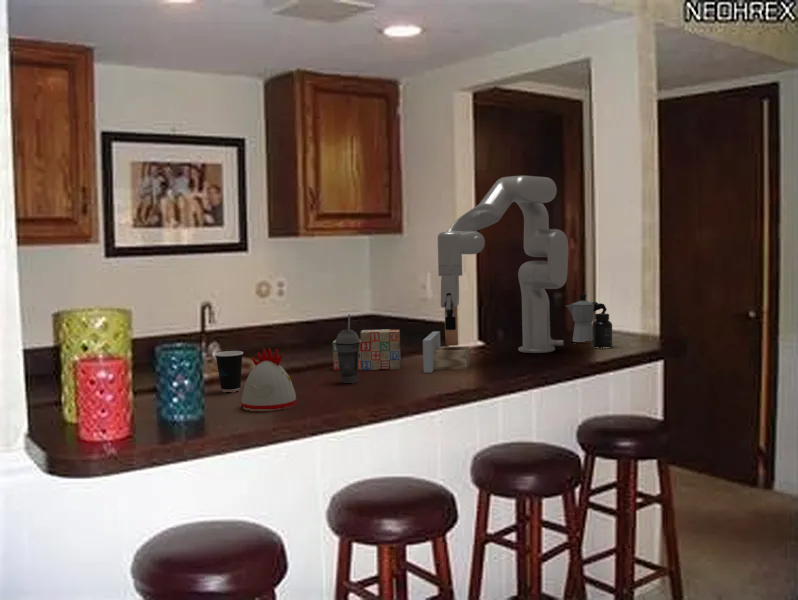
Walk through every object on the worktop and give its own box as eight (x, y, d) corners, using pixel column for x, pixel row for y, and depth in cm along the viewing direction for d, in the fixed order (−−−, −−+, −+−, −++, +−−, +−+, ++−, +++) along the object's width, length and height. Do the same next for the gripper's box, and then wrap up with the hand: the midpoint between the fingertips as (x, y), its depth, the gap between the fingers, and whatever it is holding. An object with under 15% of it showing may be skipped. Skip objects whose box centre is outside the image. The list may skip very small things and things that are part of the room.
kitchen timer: (287, 412, 206) (284, 352, 204) (234, 412, 208) (231, 352, 206) (302, 400, 219) (300, 344, 218) (252, 400, 221) (249, 344, 220)
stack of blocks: (333, 371, 265) (331, 332, 264) (335, 367, 271) (334, 330, 270) (400, 369, 264) (398, 331, 263) (401, 366, 270) (400, 328, 269)
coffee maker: (566, 344, 307) (565, 295, 305) (565, 341, 315) (564, 293, 314) (608, 343, 304) (607, 294, 303) (606, 340, 313) (605, 292, 311)
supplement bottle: (612, 346, 298) (611, 312, 297) (612, 349, 291) (612, 314, 290) (592, 346, 299) (592, 313, 298) (592, 349, 293) (592, 315, 292)
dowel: (458, 344, 266) (457, 300, 265) (457, 345, 262) (456, 301, 261) (446, 344, 266) (445, 300, 265) (444, 345, 262) (443, 301, 261)
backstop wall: (440, 361, 277) (440, 331, 276) (431, 372, 255) (430, 340, 254) (433, 361, 277) (432, 331, 276) (423, 372, 256) (422, 340, 255)
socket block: (469, 364, 269) (468, 346, 268) (466, 370, 259) (465, 351, 259) (438, 364, 271) (438, 346, 270) (434, 370, 261) (433, 351, 260)
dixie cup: (247, 388, 239) (245, 350, 238) (242, 393, 231) (240, 354, 231) (219, 389, 239) (217, 351, 238) (213, 394, 231) (211, 355, 231)
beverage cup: (350, 379, 249) (347, 312, 247) (366, 381, 243) (364, 313, 242) (331, 382, 243) (328, 314, 242) (348, 385, 238) (345, 316, 237)
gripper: (441, 270, 271) (443, 326, 273) (434, 272, 255) (436, 332, 256) (464, 269, 270) (466, 326, 271) (459, 272, 253) (460, 331, 255)
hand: (451, 328), depth 264 cm, fingers closed on dowel, 4 cm apart
